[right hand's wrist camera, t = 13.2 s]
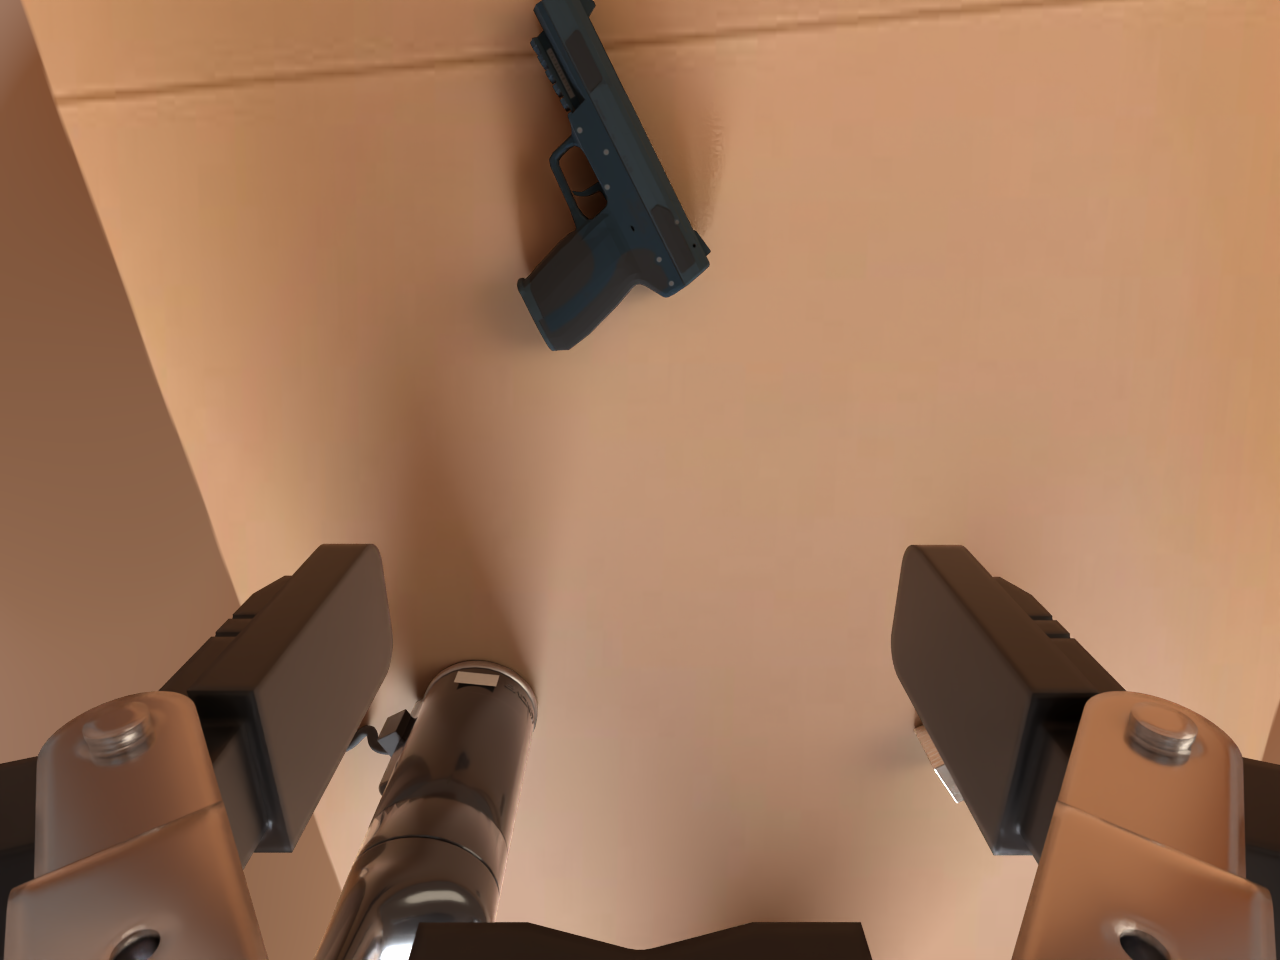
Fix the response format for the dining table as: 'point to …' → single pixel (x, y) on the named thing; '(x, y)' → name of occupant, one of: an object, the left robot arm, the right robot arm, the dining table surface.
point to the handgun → (604, 192)
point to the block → (937, 762)
